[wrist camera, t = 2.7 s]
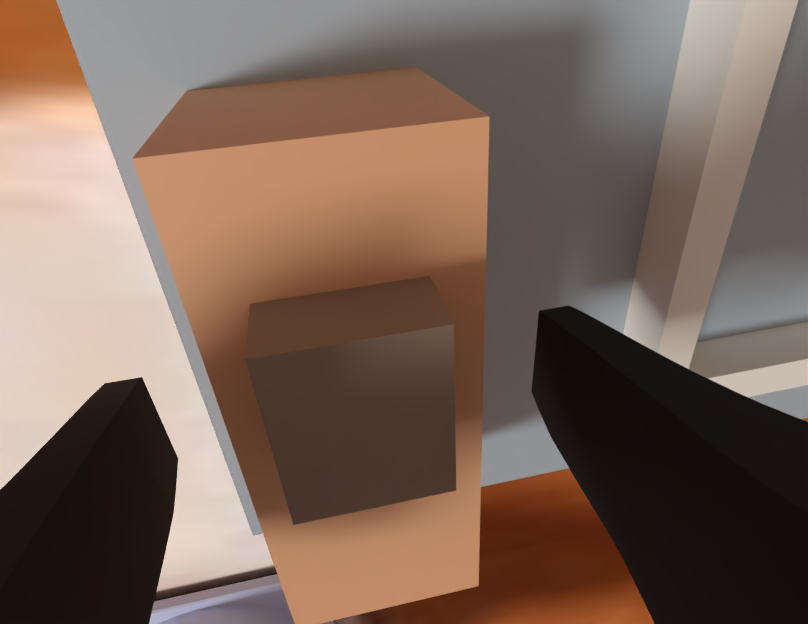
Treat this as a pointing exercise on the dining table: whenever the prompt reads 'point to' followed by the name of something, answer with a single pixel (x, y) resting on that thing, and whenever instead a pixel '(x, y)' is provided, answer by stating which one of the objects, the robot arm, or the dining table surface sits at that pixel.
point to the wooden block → (339, 319)
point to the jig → (542, 166)
